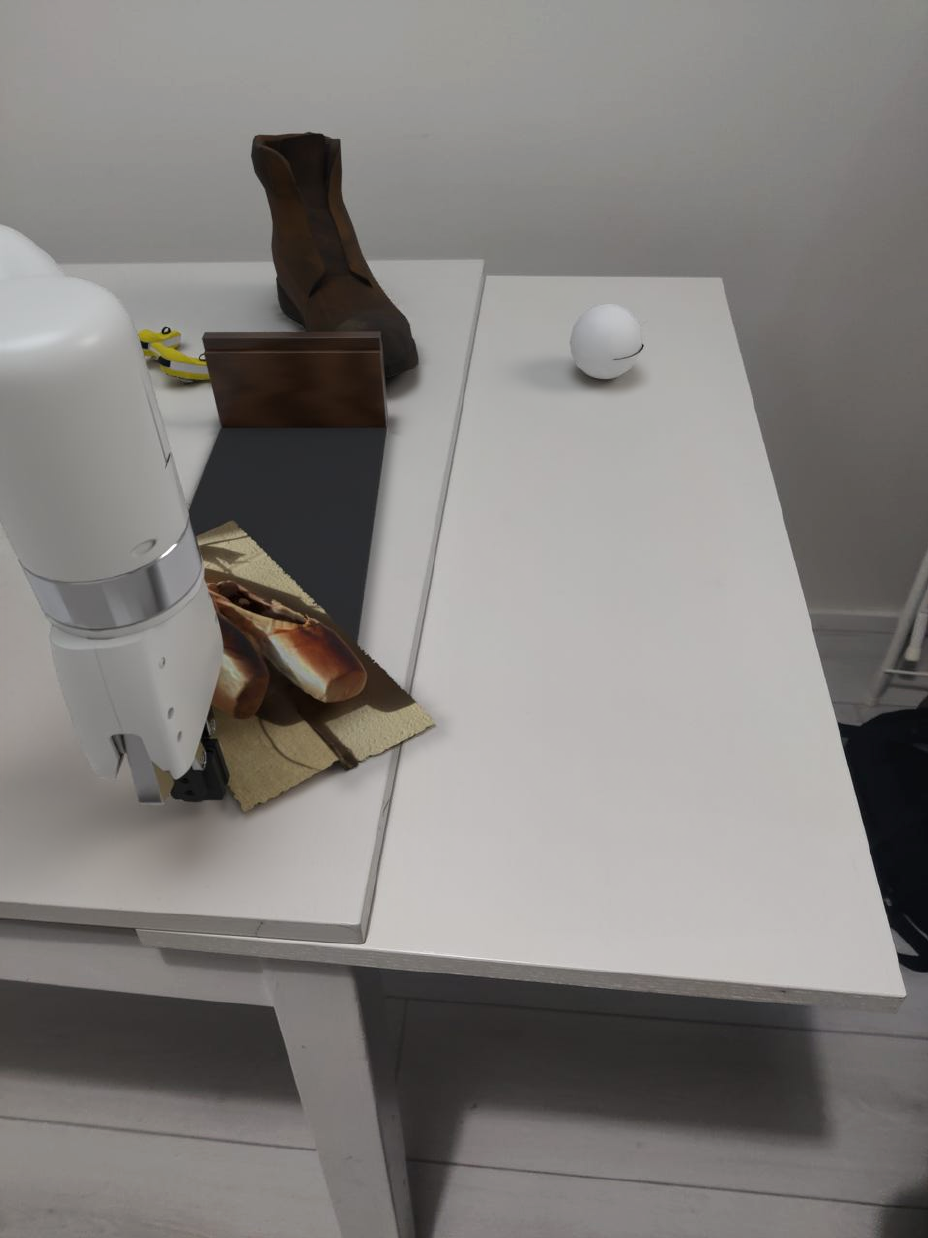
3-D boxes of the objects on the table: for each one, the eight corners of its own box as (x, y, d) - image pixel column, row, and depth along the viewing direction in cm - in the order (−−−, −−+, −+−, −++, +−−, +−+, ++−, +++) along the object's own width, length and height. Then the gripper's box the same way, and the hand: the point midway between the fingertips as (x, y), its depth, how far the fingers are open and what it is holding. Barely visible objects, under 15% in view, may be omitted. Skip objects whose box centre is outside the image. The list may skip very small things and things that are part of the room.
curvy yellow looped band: (122, 354, 93) (125, 321, 92) (177, 357, 98) (181, 325, 96) (167, 389, 88) (171, 355, 86) (223, 390, 92) (228, 358, 91)
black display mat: (135, 653, 63) (134, 650, 63) (221, 430, 84) (220, 427, 84) (355, 653, 63) (355, 650, 63) (386, 430, 84) (386, 427, 84)
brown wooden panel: (221, 429, 85) (200, 339, 78) (225, 418, 86) (205, 329, 80) (386, 428, 84) (379, 339, 78) (388, 417, 86) (381, 329, 79)
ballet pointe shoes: (239, 781, 48) (42, 530, 63) (263, 842, 52) (75, 595, 68) (434, 655, 53) (211, 453, 68) (440, 720, 58) (230, 518, 73)
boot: (350, 411, 87) (326, 201, 73) (257, 296, 106) (223, 112, 92) (449, 384, 90) (444, 179, 76) (342, 277, 109) (322, 97, 95)
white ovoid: (595, 400, 88) (602, 330, 83) (553, 368, 92) (557, 301, 87) (673, 374, 91) (684, 306, 86) (629, 345, 96) (637, 279, 91)
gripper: (87, 466, 46) (172, 695, 59) (-33, 680, 35) (103, 902, 48) (229, 466, 46) (283, 696, 59) (152, 680, 35) (239, 904, 48)
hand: (202, 788), depth 53 cm, fingers closed
